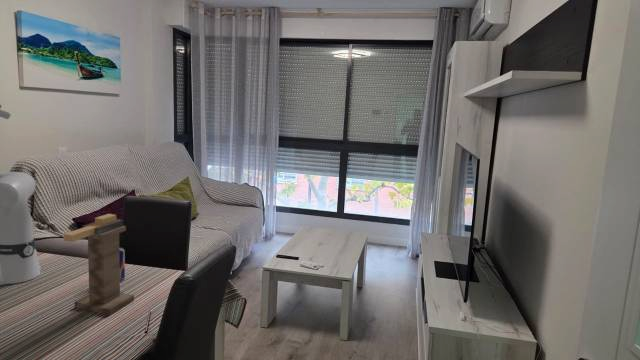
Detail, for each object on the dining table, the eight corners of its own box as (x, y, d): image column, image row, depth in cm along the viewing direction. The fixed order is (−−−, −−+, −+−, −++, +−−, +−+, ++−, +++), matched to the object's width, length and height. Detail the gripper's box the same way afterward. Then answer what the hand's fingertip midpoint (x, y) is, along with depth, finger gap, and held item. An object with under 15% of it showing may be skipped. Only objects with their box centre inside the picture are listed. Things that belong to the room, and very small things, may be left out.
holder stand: (74, 307, 134) (72, 224, 130) (100, 293, 145) (98, 216, 140) (110, 315, 131) (109, 230, 126) (133, 300, 142) (133, 221, 137)
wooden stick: (63, 240, 121) (63, 227, 120) (108, 225, 138) (108, 213, 137) (72, 241, 120) (71, 228, 119) (116, 226, 137) (116, 214, 136)
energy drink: (118, 283, 154) (118, 253, 152) (106, 281, 155) (105, 251, 153) (127, 277, 159) (127, 248, 157) (115, 275, 160) (115, 246, 158)
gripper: (-66, 89, 116) (-11, 111, 128) (-51, 108, 105) (8, 131, 116) (-54, 70, 117) (0, 94, 128) (-38, 87, 105) (20, 112, 116)
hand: (4, 111), depth 122 cm, fingers open, 8 cm apart
